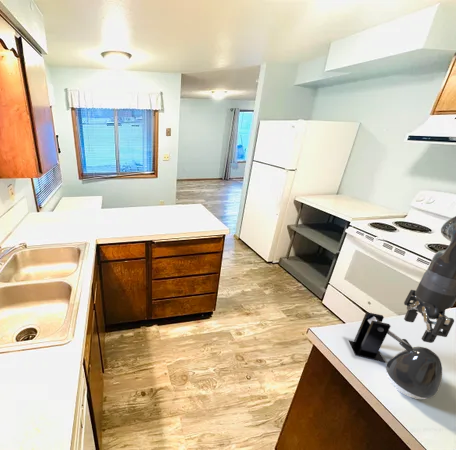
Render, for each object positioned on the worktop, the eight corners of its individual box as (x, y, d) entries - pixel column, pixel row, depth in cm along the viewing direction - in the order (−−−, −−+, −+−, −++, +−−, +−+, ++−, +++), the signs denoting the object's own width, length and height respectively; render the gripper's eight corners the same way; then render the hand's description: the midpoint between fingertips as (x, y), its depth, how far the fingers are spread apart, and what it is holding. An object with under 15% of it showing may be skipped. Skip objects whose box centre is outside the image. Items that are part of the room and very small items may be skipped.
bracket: (372, 344, 83) (386, 313, 78) (384, 364, 76) (401, 331, 71) (345, 338, 85) (357, 307, 80) (354, 357, 78) (368, 324, 73)
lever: (402, 343, 78) (409, 340, 77) (411, 356, 74) (419, 352, 73) (365, 317, 79) (372, 313, 78) (372, 328, 75) (379, 323, 74)
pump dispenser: (381, 362, 76) (402, 328, 69) (428, 386, 69) (457, 351, 63) (377, 385, 69) (400, 351, 63) (429, 414, 63) (460, 379, 56)
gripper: (479, 305, 60) (450, 352, 66) (438, 275, 73) (417, 317, 79) (440, 299, 62) (416, 345, 68) (407, 271, 75) (389, 312, 81)
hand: (416, 330), depth 73 cm, fingers open, 8 cm apart
